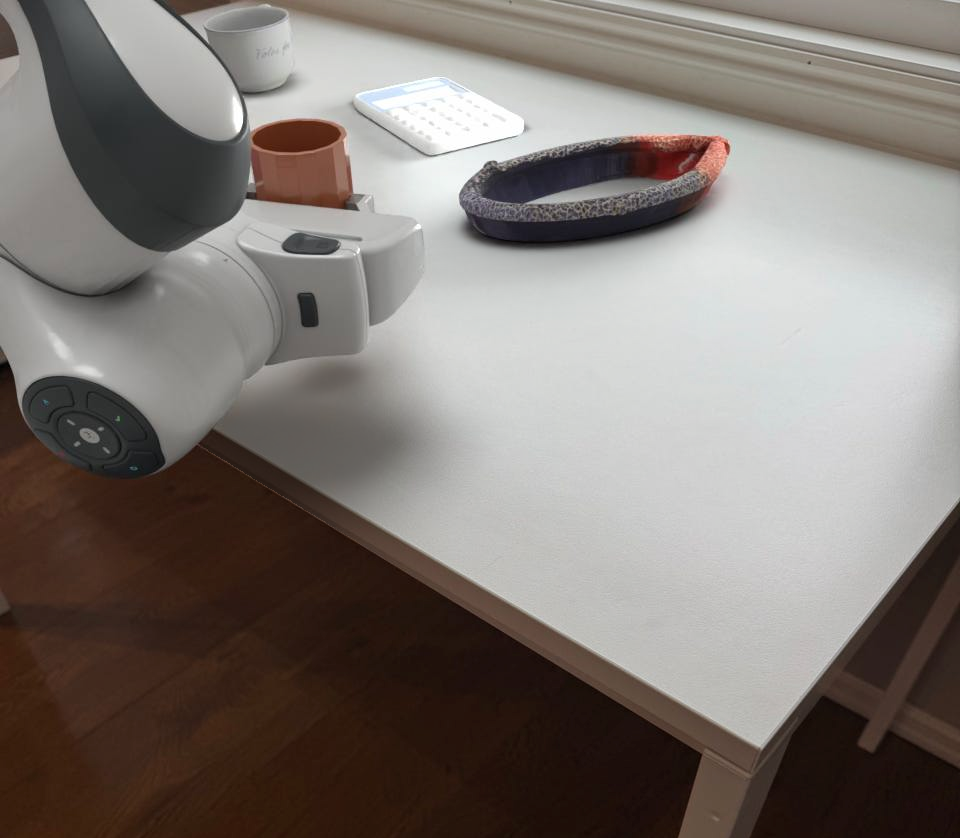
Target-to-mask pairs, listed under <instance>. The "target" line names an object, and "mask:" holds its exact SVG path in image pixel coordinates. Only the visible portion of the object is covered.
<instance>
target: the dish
mask: <svg viewBox="0 0 960 838" xmlns="http://www.w3.org/2000/svg"><path fill="white" fill-rule="evenodd" d="M730 152H731V142H730V141H729V139H727V138H724V137H723V136H721V135H719V134H718V135H703V134H702V135H700V134H679V133H678V134H673V133H671V134H633V135H622V136H613V137H612V136H611V137H605V138H595V139H591V140H584V141H580V142H574V143H569V144H564V145H559V146H555V147H554V146H553V147H551V148H546V149H543V150H542V149H541V150H538V151H534V152H531V153H527V154H524V155H521V156H517V157H513V158H511V159H507V160H503V161H500V162H498V161H497V160H494V159H493V160H488V161H485V163H484V164H483V166H482V168H481V169H479V170H478V171H477V172H475V173H474V175H472V176H471V177H470V178H469V179H468V180H467V181H466V182H465V183H464V184H463V186H462V188H461V189H460V191H459V193H458V200H459V206H460V207H461V208H462V209H463V211H464V213H465V215H466V218H467V220H468V221H469V223H470V224H471V225H472V226H473V227H475V229H476V230H478V231H479V232H480V233H481V234H483V235H486V236H487V237H491V238H494V239H497V240H504V241H514V242H532V243H533V242H534V243H540V242H541V243H544V242H545V243H547V242H567V241H577V240H585V239H593V238H600V237H606V236H610V235H611V236H612V235H616V234H621V233H624V232H628V231H629V232H630V231H633V230H637V229H641V228H645V227H647V226H651V225H654V224H657V223H661V222H663V221H666V220H669V219H671V218H673V217H676V216H679V215H681V214H683V213H686V212H688V211H689V210H691V209H693V208H694V207H695V206H696V205H698V204H699V203H700V202H701V201H703V199H704V198H705V196H707V194H708V192H709V191H710V190H711V188H712V186H713V184H714V183H715V181H716V180H717V179H718V178H719V176H720V175H721V173H722V171H723V169H724V167H725V166H726V164H727V160H728V156H730ZM628 178H631V179H632V178H642V179H643V178H644V179H650V180H657V181H665V182H662V183H660V184H659V183H658V184H656V185H653V186H650V187H646V188H642V189H638V190H634V191H629V192H625V193H620V194H615V195H614V194H613V195H609V196H603V197H598V198H591V199H584V200H583V199H582V200H576V201H574V200H573V201H564V202H563V201H562V202H551V203H550V202H549V203H530V202H533V201H537V200H539V199H542V198H545V197H549V196H551V195H555V194H558V193H562V192H567V191H570V190H575V189H577V188H578V189H579V188H582V187H587V186H590V185H595V184H599V183H603V182H608V181H612V180H620V179H628Z"/></svg>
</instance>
